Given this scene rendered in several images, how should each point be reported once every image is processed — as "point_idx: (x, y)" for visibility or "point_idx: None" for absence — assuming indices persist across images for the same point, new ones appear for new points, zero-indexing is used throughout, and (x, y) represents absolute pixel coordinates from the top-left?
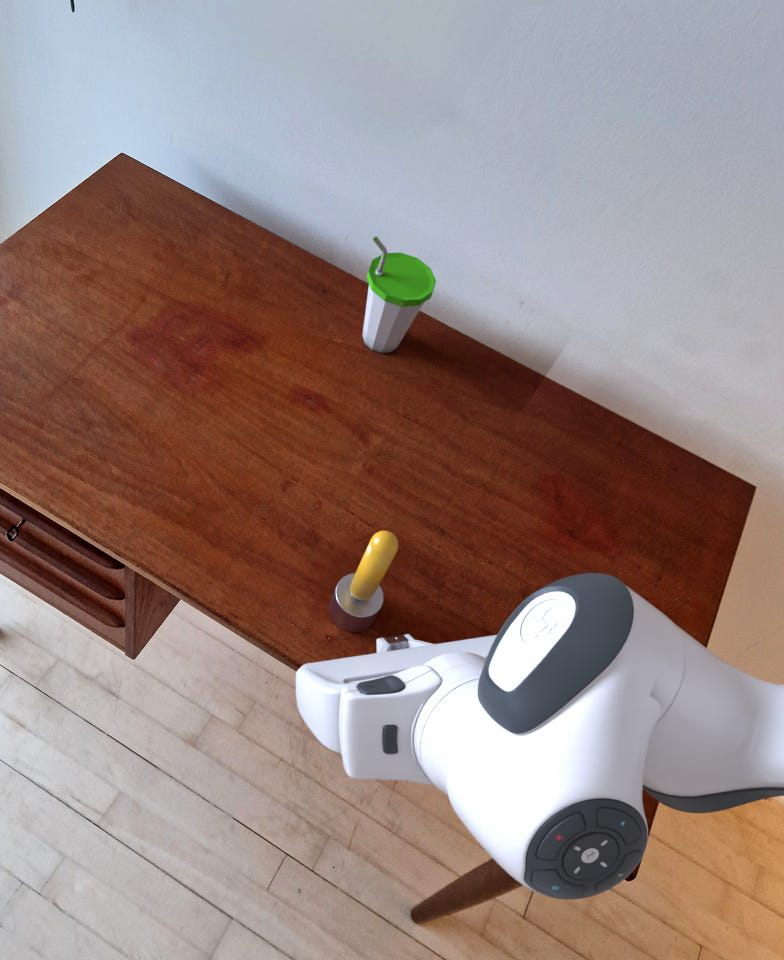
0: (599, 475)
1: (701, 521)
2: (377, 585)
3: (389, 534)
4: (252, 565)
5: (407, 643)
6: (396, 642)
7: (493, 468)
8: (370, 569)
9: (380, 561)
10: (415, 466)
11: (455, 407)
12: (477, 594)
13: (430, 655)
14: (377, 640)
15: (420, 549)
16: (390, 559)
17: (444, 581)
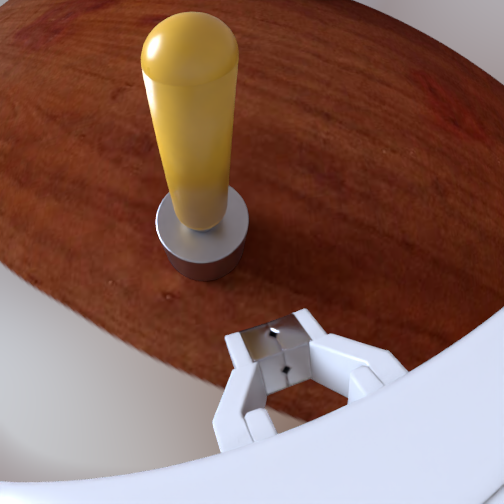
0: (452, 76)
1: None
2: (218, 194)
3: (197, 13)
4: (60, 200)
5: (306, 347)
6: (275, 352)
7: (366, 59)
8: (172, 150)
9: (183, 110)
10: (281, 54)
11: (313, 15)
12: (388, 192)
13: (407, 470)
14: (226, 341)
15: (303, 138)
16: (218, 98)
17: (343, 178)
